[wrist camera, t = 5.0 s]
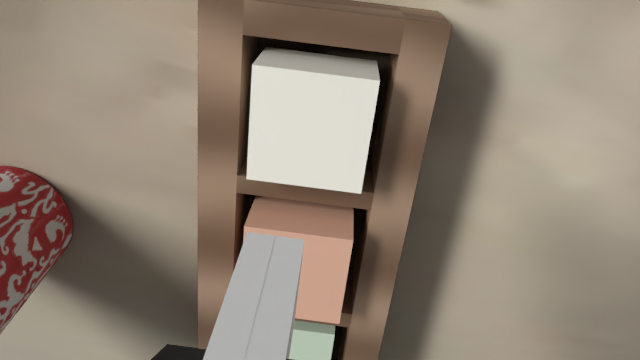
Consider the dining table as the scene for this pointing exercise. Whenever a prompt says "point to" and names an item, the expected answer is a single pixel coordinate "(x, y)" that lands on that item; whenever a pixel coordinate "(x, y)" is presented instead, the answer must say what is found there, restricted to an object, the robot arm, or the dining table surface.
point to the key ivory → (311, 119)
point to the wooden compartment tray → (375, 199)
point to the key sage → (312, 341)
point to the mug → (28, 236)
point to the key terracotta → (311, 249)
